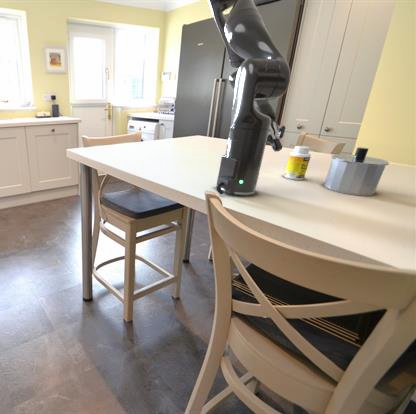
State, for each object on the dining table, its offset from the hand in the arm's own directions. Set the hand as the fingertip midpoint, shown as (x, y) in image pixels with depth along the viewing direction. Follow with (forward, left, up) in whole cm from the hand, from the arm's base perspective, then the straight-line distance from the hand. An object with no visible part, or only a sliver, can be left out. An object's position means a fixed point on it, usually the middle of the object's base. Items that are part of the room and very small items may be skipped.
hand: (278, 150), depth 98 cm
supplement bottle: (0, -9, -8) cm, 12 cm away
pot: (+6, -22, -8) cm, 24 cm away
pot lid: (+6, -22, +1) cm, 22 cm away
